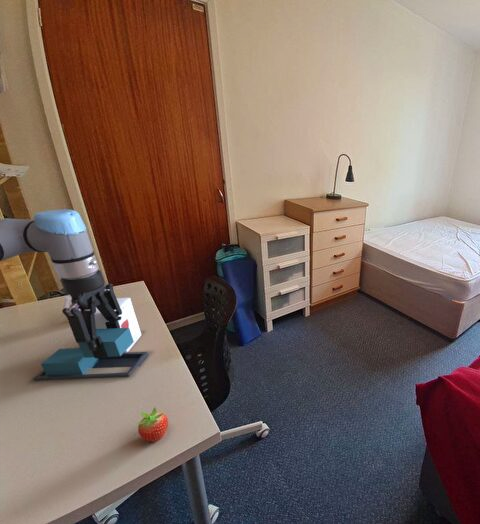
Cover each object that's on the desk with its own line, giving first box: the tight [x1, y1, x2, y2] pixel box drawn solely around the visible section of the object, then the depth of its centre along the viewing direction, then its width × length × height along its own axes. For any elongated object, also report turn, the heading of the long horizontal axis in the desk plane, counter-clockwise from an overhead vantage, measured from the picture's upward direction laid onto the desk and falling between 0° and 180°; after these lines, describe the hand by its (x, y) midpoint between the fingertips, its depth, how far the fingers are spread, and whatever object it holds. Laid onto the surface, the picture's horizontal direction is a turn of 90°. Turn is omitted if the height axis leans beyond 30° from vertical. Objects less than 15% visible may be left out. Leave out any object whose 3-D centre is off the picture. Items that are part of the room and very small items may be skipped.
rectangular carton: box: [94, 297, 142, 353], centre depth 87 cm, size 9×9×15 cm
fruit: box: [136, 406, 169, 442], centre depth 61 cm, size 5×5×8 cm
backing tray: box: [32, 351, 149, 382], centre depth 80 cm, size 24×9×2 cm, turn 95°
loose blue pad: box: [77, 328, 134, 358], centre depth 77 cm, size 9×6×5 cm, turn 95°
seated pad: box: [40, 347, 99, 376], centre depth 78 cm, size 9×6×5 cm, turn 95°
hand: (110, 348), depth 78 cm, fingers closed on loose blue pad, 6 cm apart
